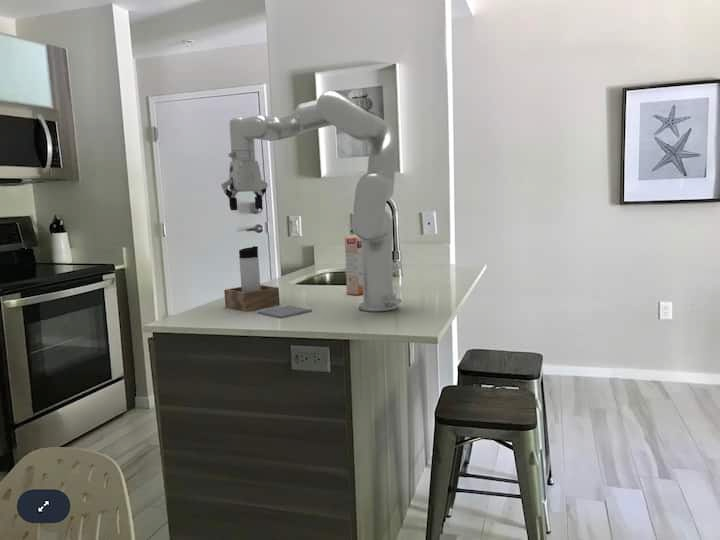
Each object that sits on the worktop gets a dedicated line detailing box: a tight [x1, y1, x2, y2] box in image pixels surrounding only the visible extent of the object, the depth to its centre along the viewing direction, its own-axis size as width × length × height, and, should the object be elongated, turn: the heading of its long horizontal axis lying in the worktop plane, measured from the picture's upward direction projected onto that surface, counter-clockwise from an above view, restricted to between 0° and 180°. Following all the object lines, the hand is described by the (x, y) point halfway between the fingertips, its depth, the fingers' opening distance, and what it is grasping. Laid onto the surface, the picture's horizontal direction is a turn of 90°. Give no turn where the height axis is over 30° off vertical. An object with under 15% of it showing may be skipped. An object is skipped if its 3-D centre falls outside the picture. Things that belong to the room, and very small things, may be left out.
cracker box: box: [344, 235, 363, 296], centre depth 212 cm, size 14×6×21 cm, turn 146°
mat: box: [257, 304, 313, 319], centre depth 183 cm, size 12×12×1 cm
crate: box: [224, 284, 281, 313], centre depth 195 cm, size 13×13×6 cm
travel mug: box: [238, 245, 261, 293], centre depth 194 cm, size 6×7×20 cm
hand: (246, 209), depth 191 cm, fingers open, 9 cm apart
